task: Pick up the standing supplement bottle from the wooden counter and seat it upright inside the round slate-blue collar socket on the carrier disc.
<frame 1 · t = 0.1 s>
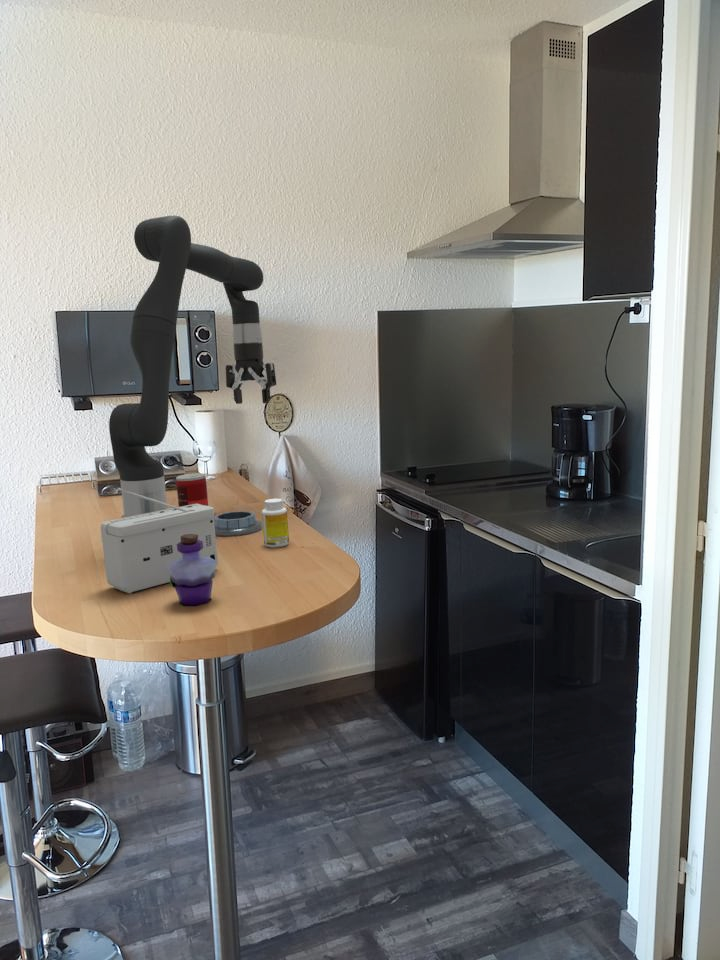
hand: (252, 403, 201), 29 cm above the counter, fingers open, 8 cm apart
canned food: (194, 516, 204), on the counter
carrier: (235, 529, 185), on the counter
potion bottle: (195, 602, 133), on the counter
supplement bottle: (276, 546, 168), on the counter
stereo radio cassette player: (166, 580, 147), on the counter
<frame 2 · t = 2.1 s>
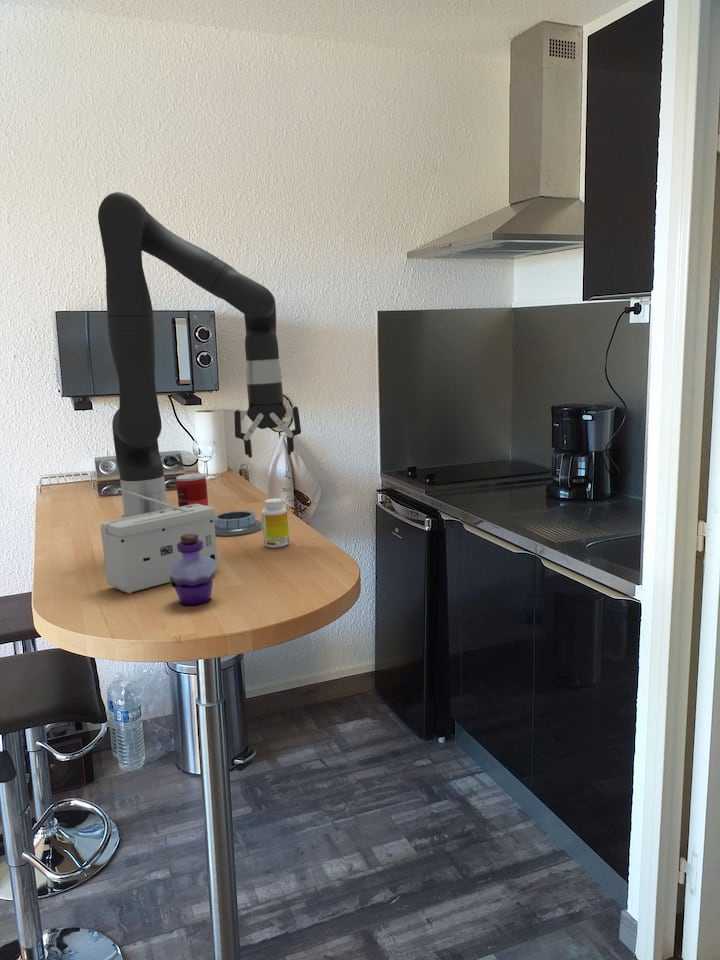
hand: (270, 455, 165), 20 cm above the counter, fingers open, 8 cm apart
nothing on the counter moved.
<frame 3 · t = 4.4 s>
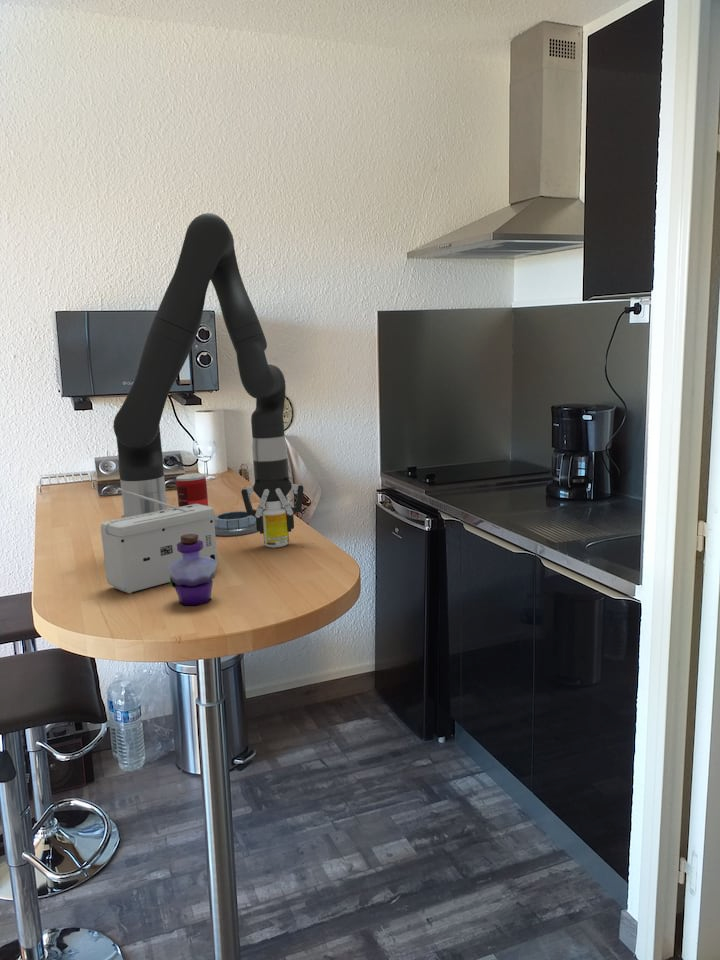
hand: (275, 531, 168), 3 cm above the counter, fingers closed on supplement bottle, 5 cm apart
supplement bottle: (276, 545, 168), on the counter, touching gripper
everything else where it was.
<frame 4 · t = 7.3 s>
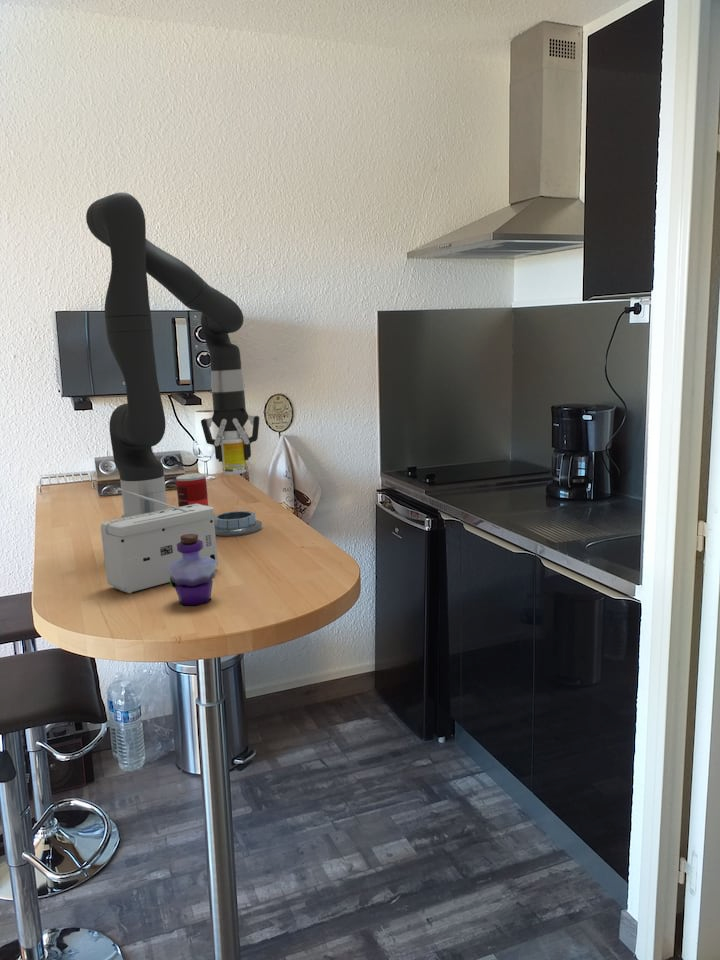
hand: (233, 460, 180), 17 cm above the counter, fingers closed on supplement bottle, 5 cm apart
supplement bottle: (235, 473, 181), point 14 cm above the counter, touching gripper
everything else where it was.
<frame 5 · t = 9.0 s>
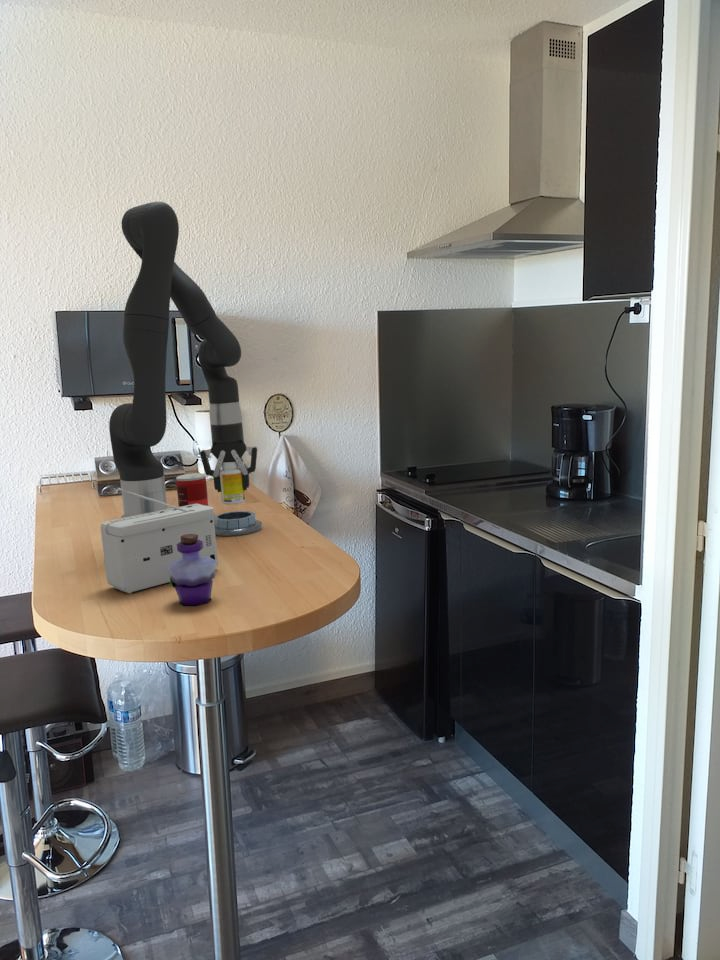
hand: (232, 490, 183), 10 cm above the counter, fingers closed on supplement bottle, 5 cm apart
supplement bottle: (233, 503, 184), point 7 cm above the counter, touching gripper
everything else where it was.
when the fingers open (6 cm above the counter, at t = 10.3 s): supplement bottle drops 1 cm, resting on carrier.
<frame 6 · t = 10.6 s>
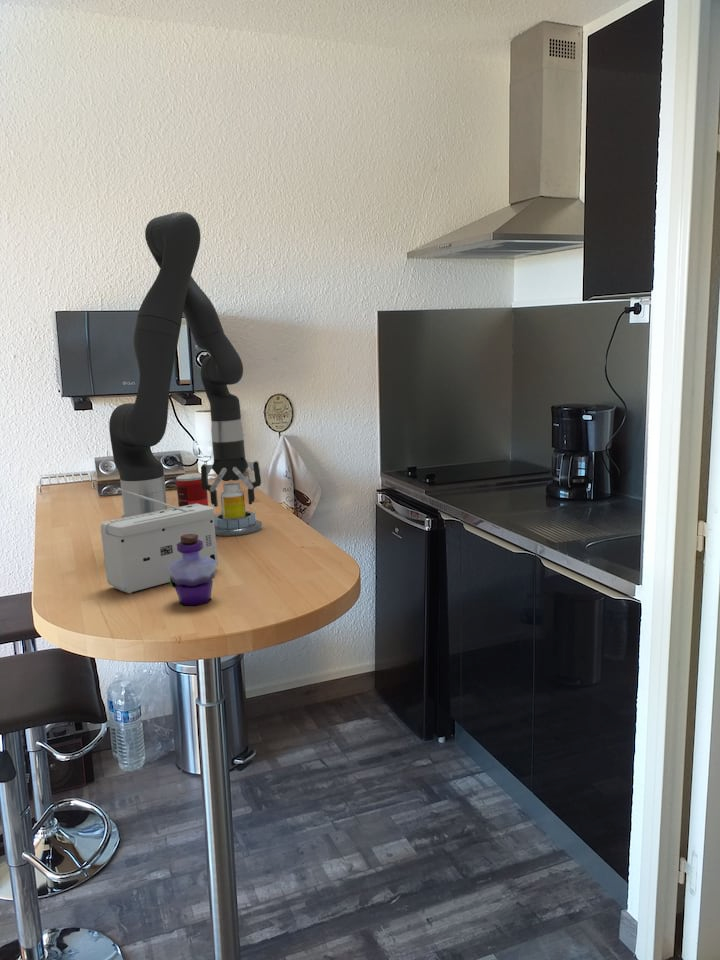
hand: (233, 505, 184), 6 cm above the counter, fingers open, 8 cm apart
supplement bottle: (235, 525, 185), point 1 cm above the counter, touching carrier
everything else where it was.
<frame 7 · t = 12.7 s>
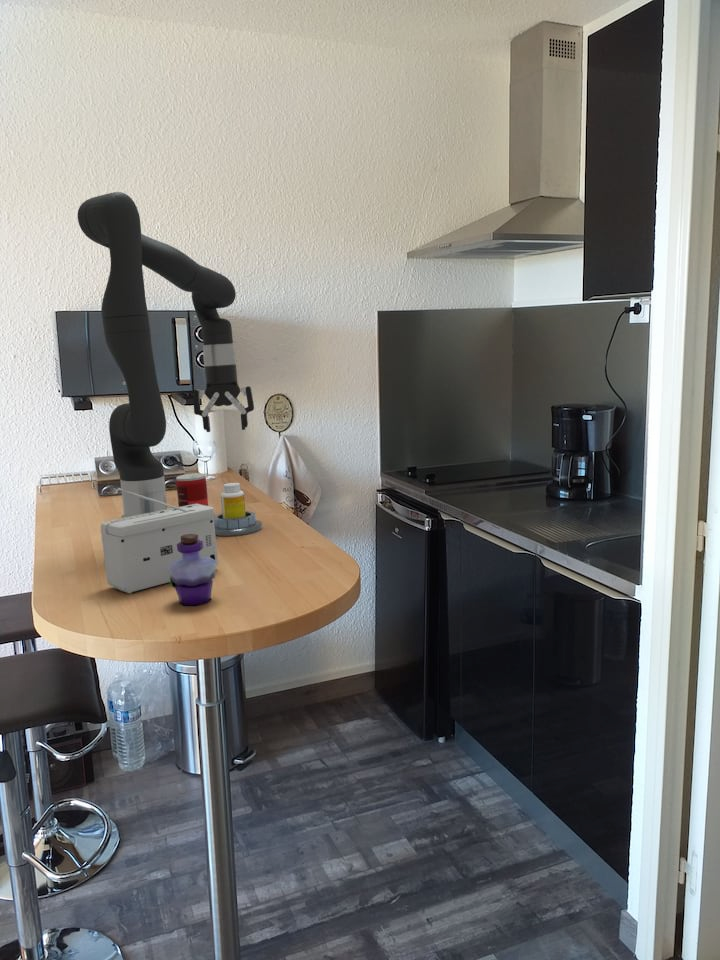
hand: (226, 430, 184), 24 cm above the counter, fingers open, 8 cm apart
nothing on the counter moved.
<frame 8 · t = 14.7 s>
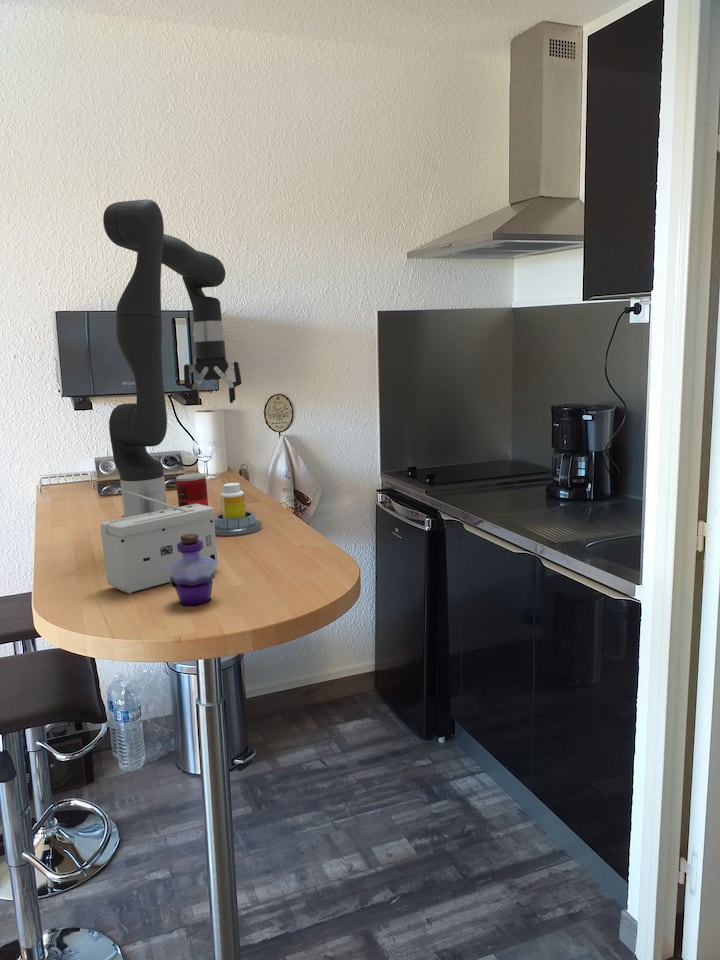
hand: (215, 403, 194), 30 cm above the counter, fingers open, 8 cm apart
nothing on the counter moved.
at the end: supplement bottle 0.0 cm off-centre on the carrier, point 1.0 cm above the carrier's base; supplement bottle tilted 0°; the gripper is holding nothing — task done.
